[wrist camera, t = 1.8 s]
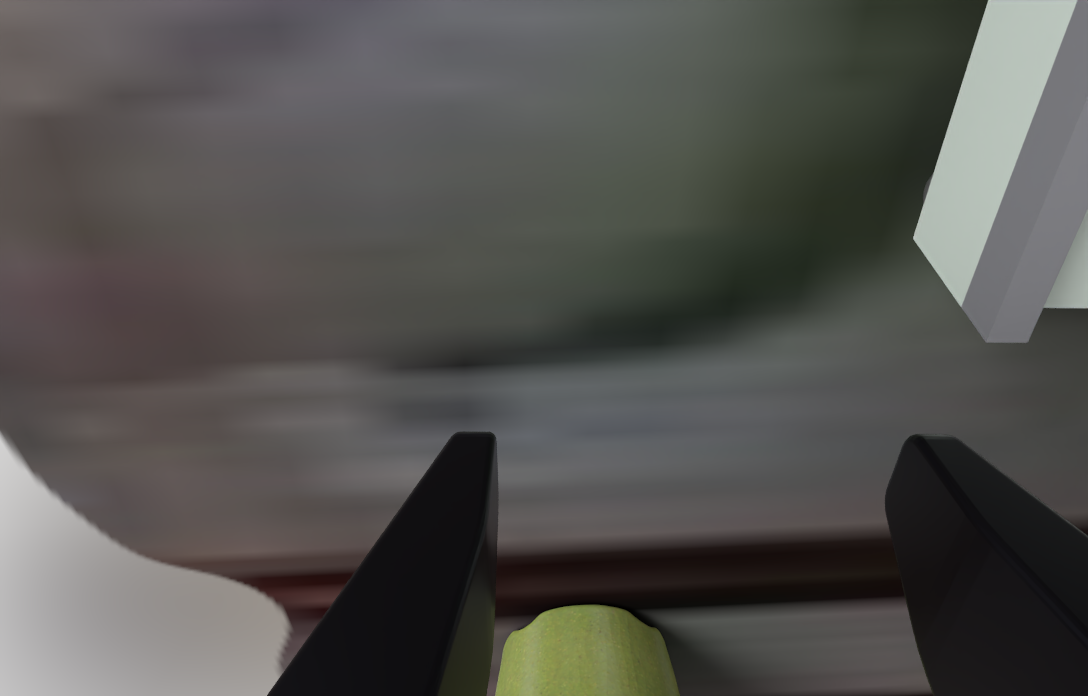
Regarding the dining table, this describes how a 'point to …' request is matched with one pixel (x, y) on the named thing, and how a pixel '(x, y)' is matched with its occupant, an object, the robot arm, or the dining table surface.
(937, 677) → the robot arm
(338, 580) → the dining table surface
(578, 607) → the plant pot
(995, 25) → the pale green box
